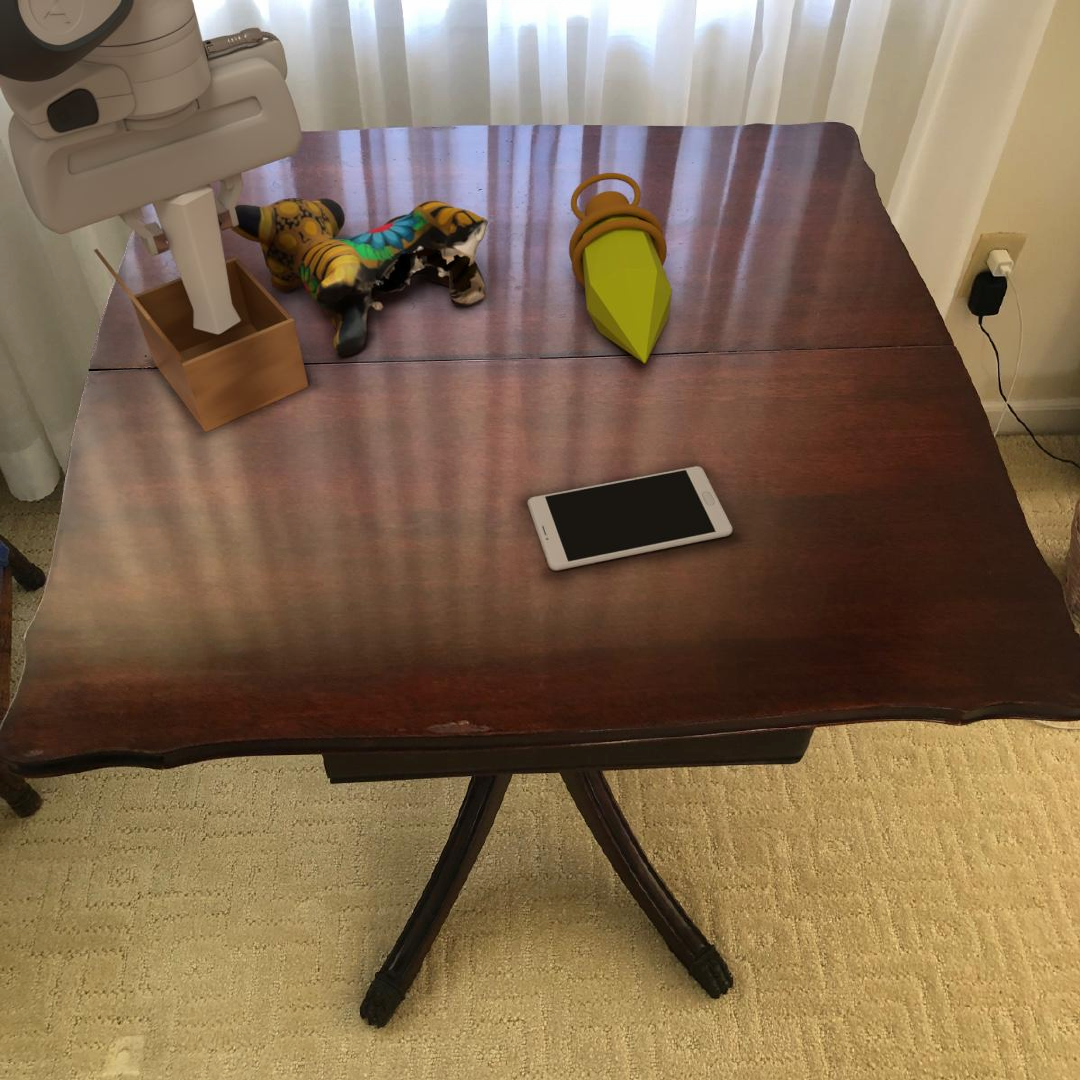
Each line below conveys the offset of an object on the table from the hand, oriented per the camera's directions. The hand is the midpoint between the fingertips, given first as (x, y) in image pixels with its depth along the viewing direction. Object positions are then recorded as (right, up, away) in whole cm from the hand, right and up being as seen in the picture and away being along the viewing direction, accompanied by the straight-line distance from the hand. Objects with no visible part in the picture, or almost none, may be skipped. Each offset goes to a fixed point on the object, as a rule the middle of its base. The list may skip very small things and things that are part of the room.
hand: (192, 237), depth 77 cm
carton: (0, -9, +11) cm, 14 cm away
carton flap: (-5, -5, +1) cm, 7 cm away
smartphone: (+34, -22, +1) cm, 41 cm away
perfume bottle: (0, -5, +6) cm, 8 cm away
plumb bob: (+35, -1, +19) cm, 40 cm away
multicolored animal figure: (+11, 0, +19) cm, 22 cm away
